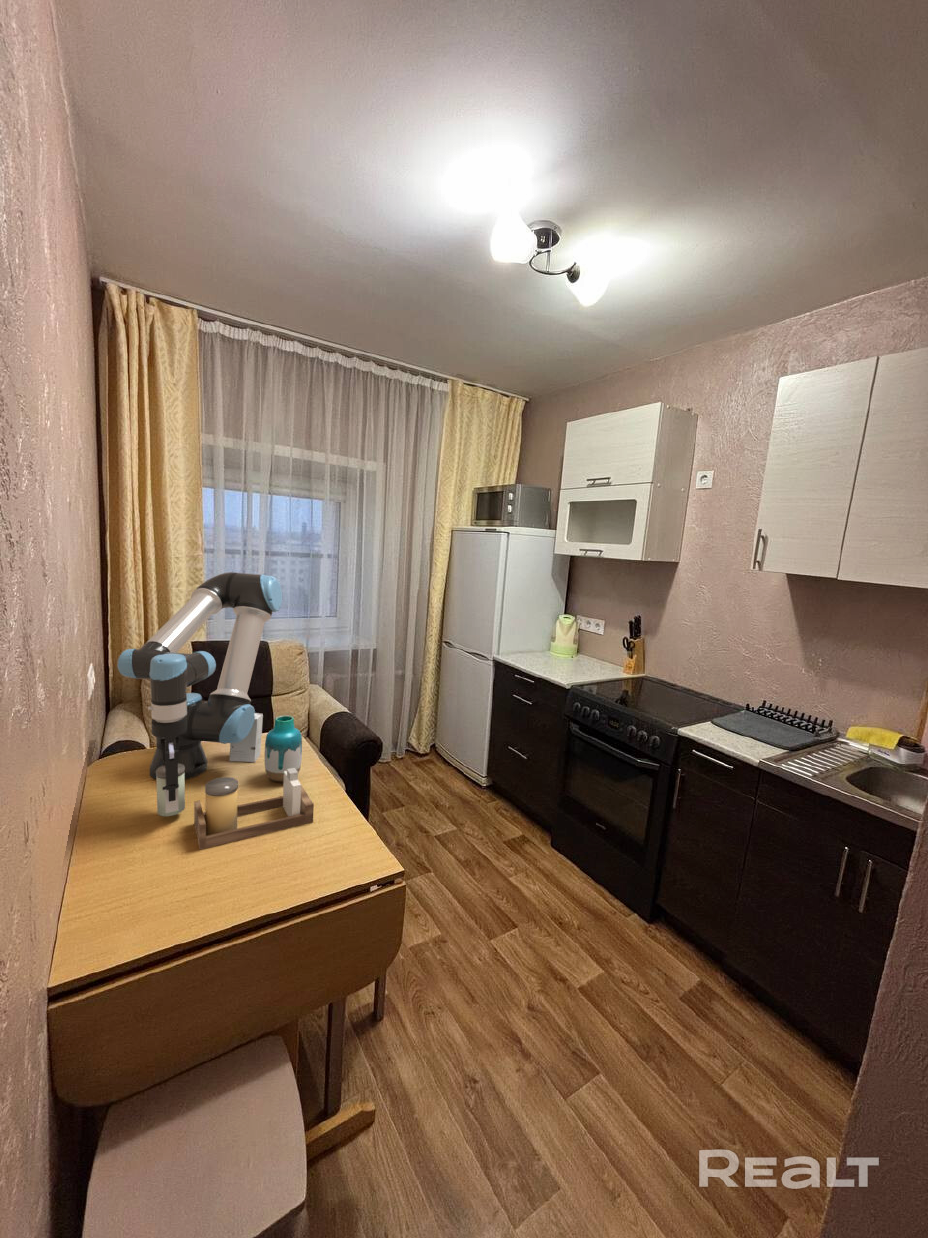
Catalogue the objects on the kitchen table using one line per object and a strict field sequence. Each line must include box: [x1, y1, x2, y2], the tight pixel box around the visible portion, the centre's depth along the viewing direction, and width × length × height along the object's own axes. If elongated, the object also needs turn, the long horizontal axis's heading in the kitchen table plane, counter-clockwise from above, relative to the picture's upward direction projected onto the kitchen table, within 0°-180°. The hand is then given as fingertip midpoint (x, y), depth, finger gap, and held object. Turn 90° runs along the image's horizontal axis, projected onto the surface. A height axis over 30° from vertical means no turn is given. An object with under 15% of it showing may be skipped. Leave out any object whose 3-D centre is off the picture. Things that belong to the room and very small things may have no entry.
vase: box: [264, 714, 303, 783], centre depth 147 cm, size 11×11×19 cm
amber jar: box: [204, 776, 239, 836], centre depth 119 cm, size 7×7×12 cm
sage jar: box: [156, 763, 186, 817], centre depth 123 cm, size 6×6×11 cm
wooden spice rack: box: [193, 784, 315, 850], centre depth 124 cm, size 12×26×6 cm, turn 124°
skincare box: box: [229, 712, 264, 763], centre depth 159 cm, size 8×6×15 cm
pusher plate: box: [282, 768, 302, 817], centre depth 129 cm, size 9×2×12 cm, turn 34°
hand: (171, 804), depth 124 cm, fingers closed on sage jar, 6 cm apart
